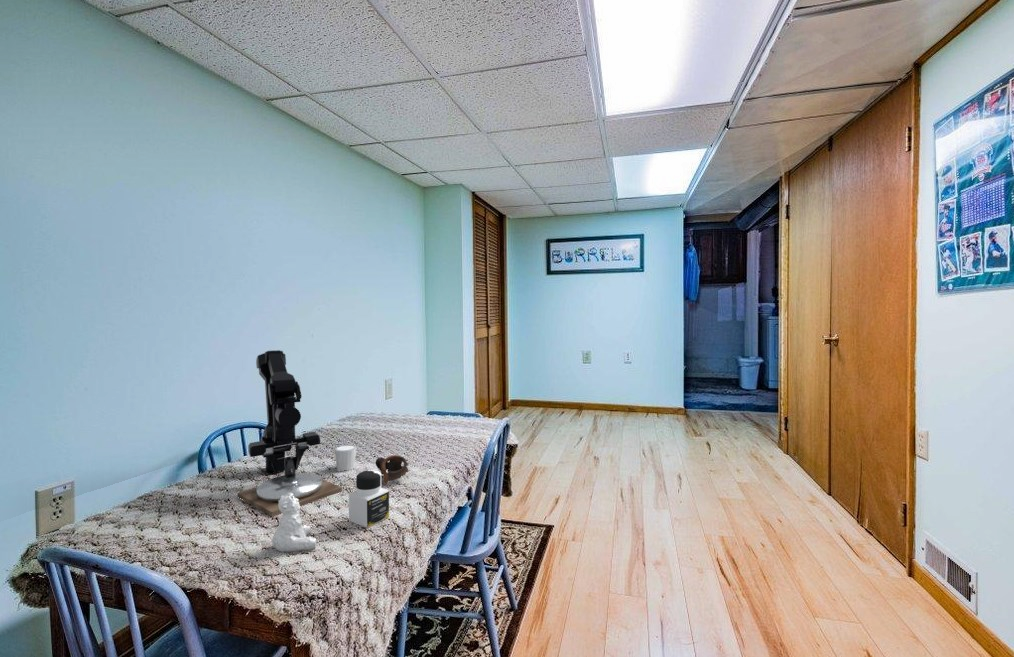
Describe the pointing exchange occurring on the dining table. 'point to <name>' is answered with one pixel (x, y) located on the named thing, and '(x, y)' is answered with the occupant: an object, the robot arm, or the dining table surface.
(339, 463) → the shot glass
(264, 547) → the dining table surface
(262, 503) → the walnut board
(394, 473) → the pottery mug
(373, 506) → the medicine bottle
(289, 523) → the sitting furry creature
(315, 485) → the handwheel
